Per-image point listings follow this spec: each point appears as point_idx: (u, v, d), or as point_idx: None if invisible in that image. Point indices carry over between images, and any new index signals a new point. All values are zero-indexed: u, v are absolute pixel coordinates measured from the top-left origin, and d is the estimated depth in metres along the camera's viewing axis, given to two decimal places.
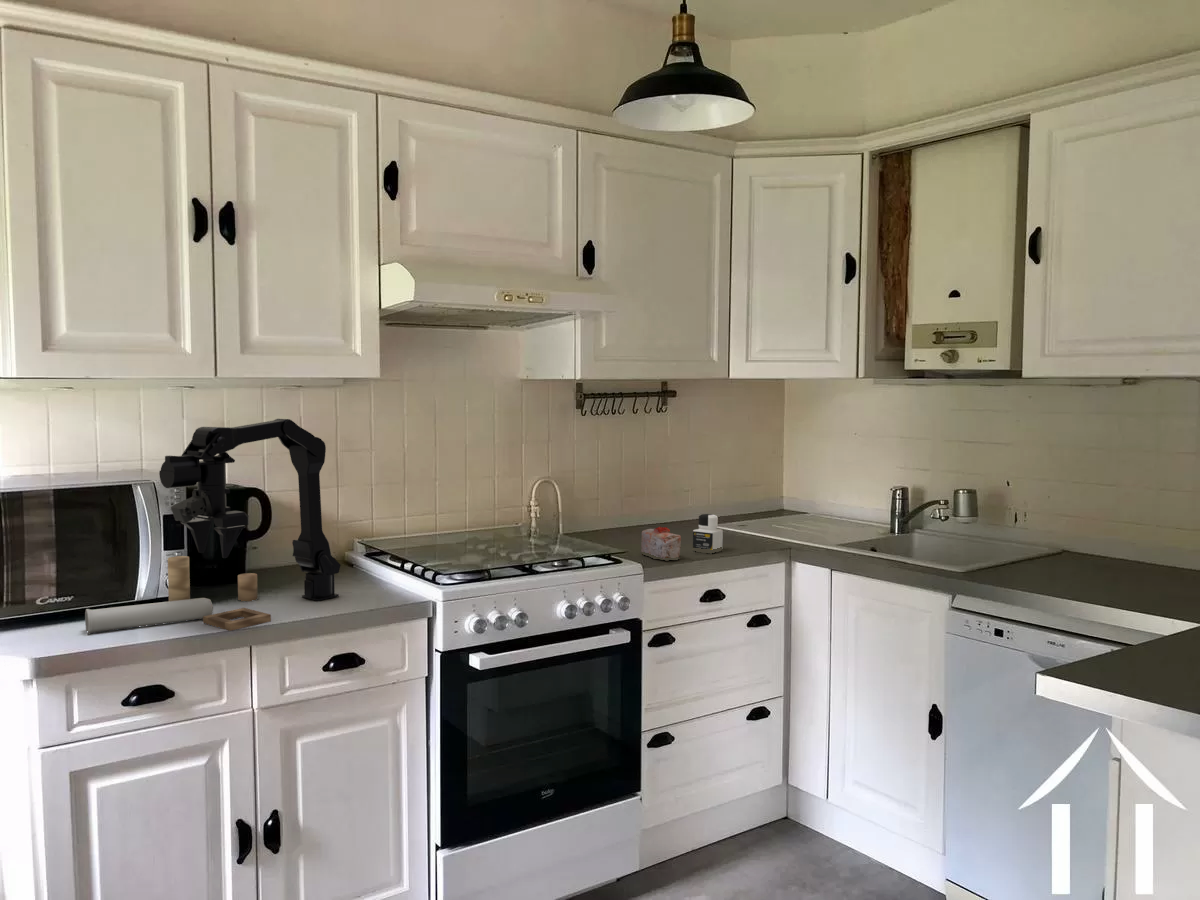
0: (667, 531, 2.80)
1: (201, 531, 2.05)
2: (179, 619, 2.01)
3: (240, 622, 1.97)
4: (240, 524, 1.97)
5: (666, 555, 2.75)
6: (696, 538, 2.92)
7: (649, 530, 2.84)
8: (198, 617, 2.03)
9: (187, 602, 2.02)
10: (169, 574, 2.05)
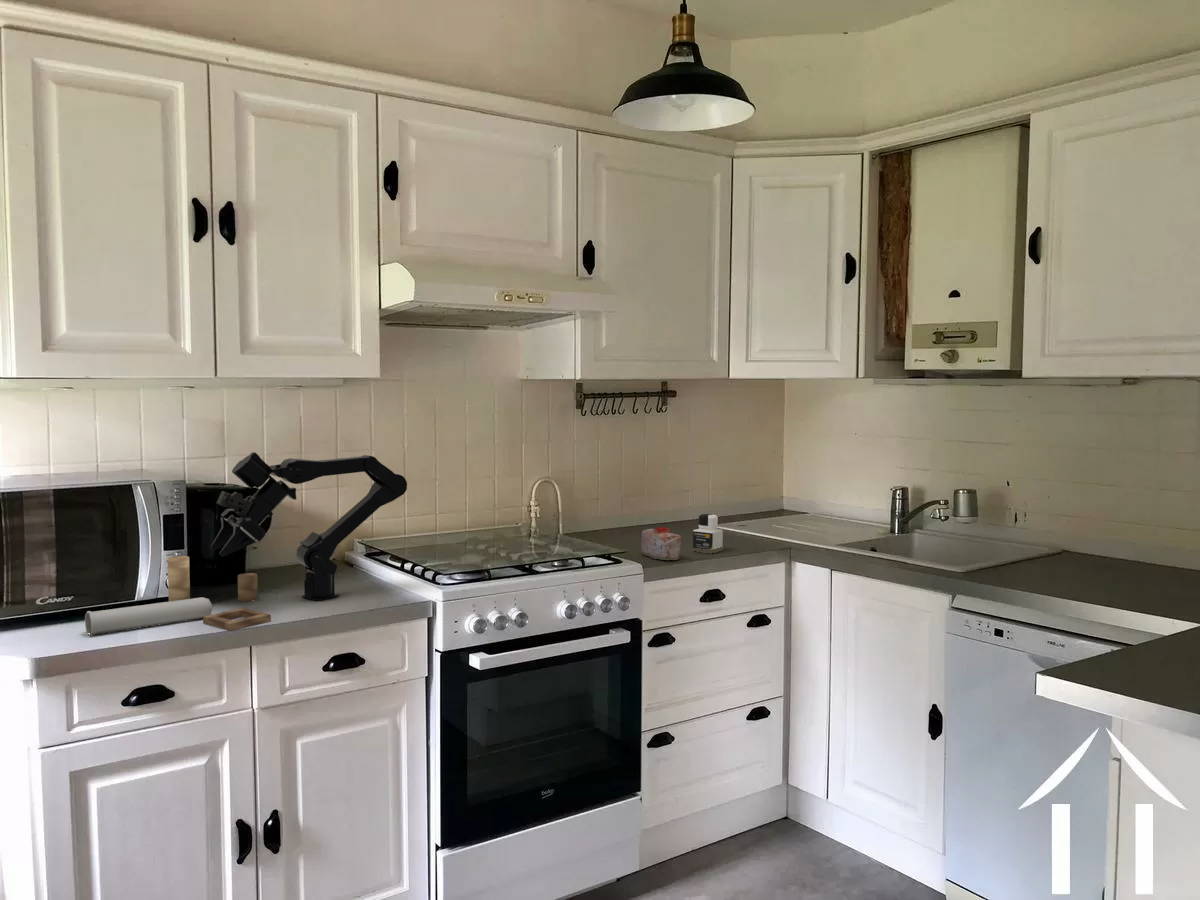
0: (667, 531, 2.80)
1: (227, 534, 2.17)
2: (180, 619, 2.01)
3: (240, 622, 1.97)
4: (252, 534, 2.07)
5: (666, 555, 2.75)
6: (696, 539, 2.92)
7: (649, 530, 2.84)
8: (198, 617, 2.03)
9: (187, 602, 2.02)
10: (169, 574, 2.05)
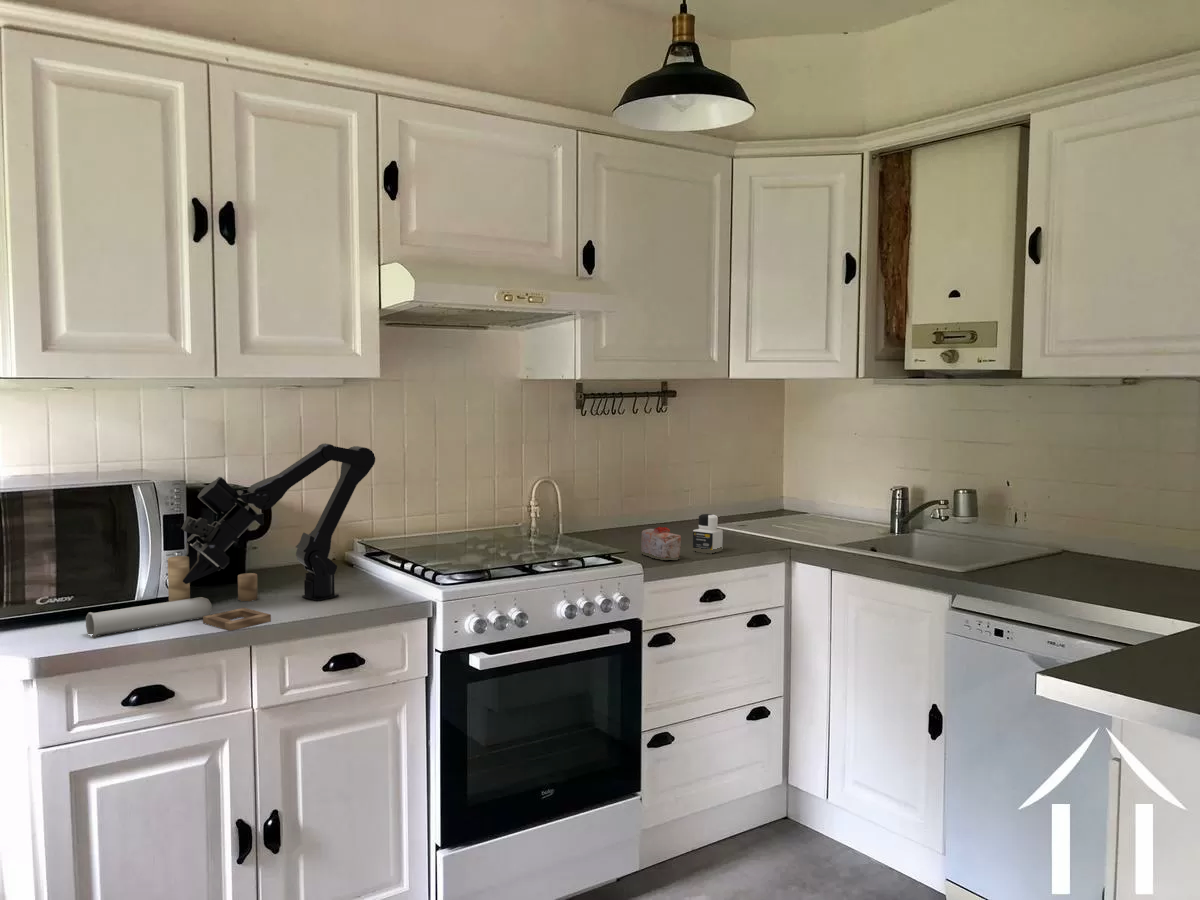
0: (667, 531, 2.81)
1: (192, 560, 2.13)
2: (180, 619, 2.01)
3: (240, 622, 1.97)
4: (216, 562, 2.03)
5: (666, 555, 2.75)
6: (696, 539, 2.92)
7: (649, 530, 2.84)
8: (198, 616, 2.04)
9: (187, 602, 2.02)
10: (169, 574, 2.05)
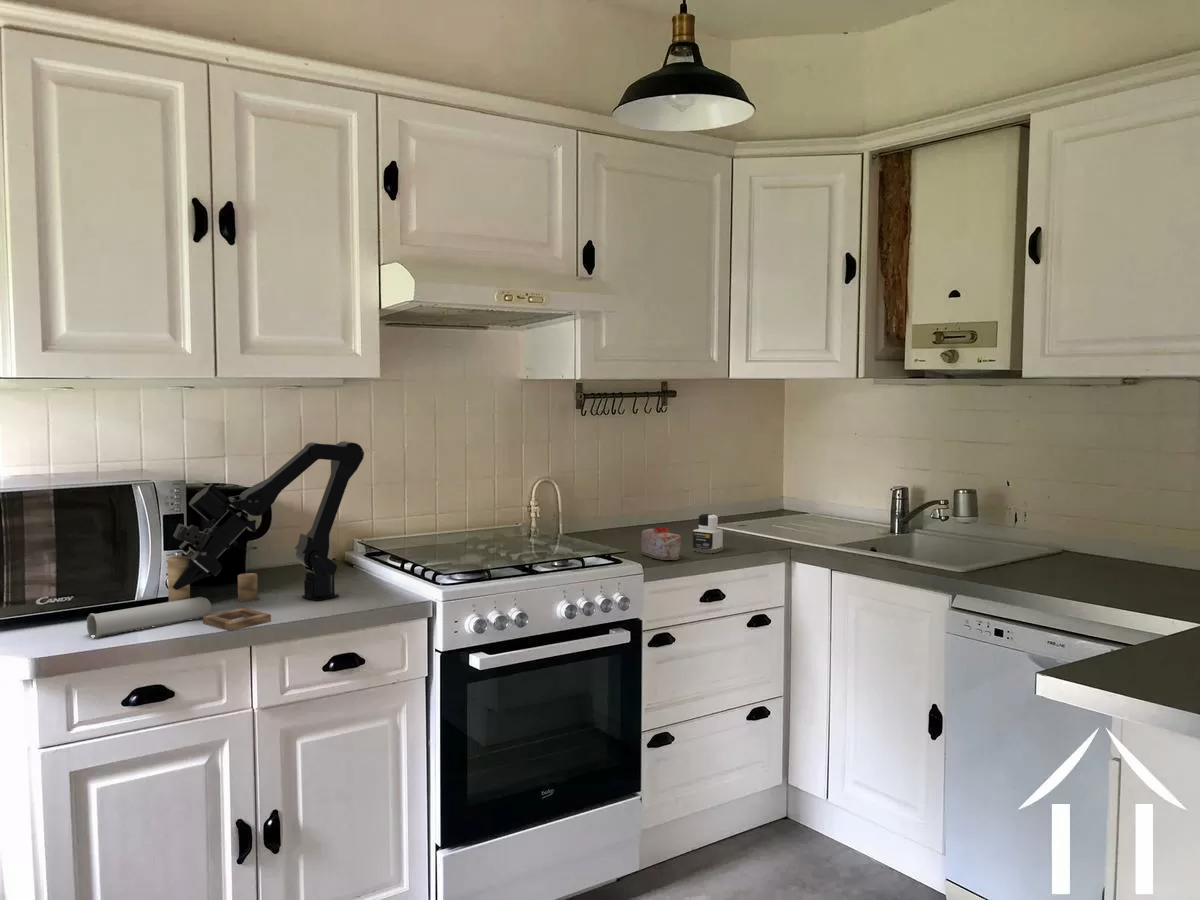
0: (667, 531, 2.81)
1: None
2: (181, 619, 2.01)
3: (240, 622, 1.97)
4: (208, 569, 2.02)
5: (666, 555, 2.75)
6: (696, 539, 2.92)
7: (649, 530, 2.84)
8: (198, 616, 2.04)
9: (187, 602, 2.03)
10: (169, 574, 2.05)
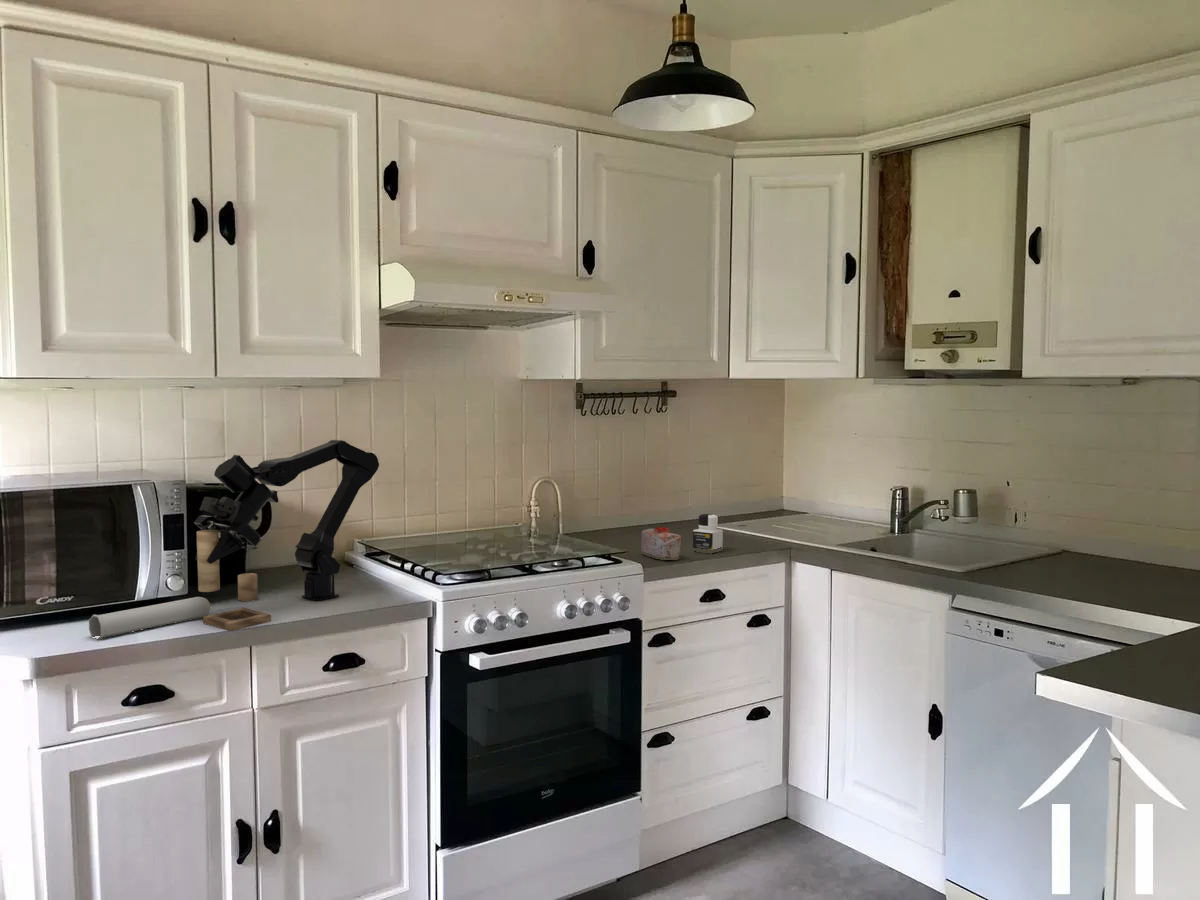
0: (667, 531, 2.81)
1: None
2: (182, 619, 2.01)
3: (240, 622, 1.97)
4: (250, 540, 2.00)
5: (666, 555, 2.75)
6: (696, 539, 2.92)
7: (649, 530, 2.84)
8: (198, 616, 2.04)
9: (187, 601, 2.03)
10: (200, 548, 2.00)
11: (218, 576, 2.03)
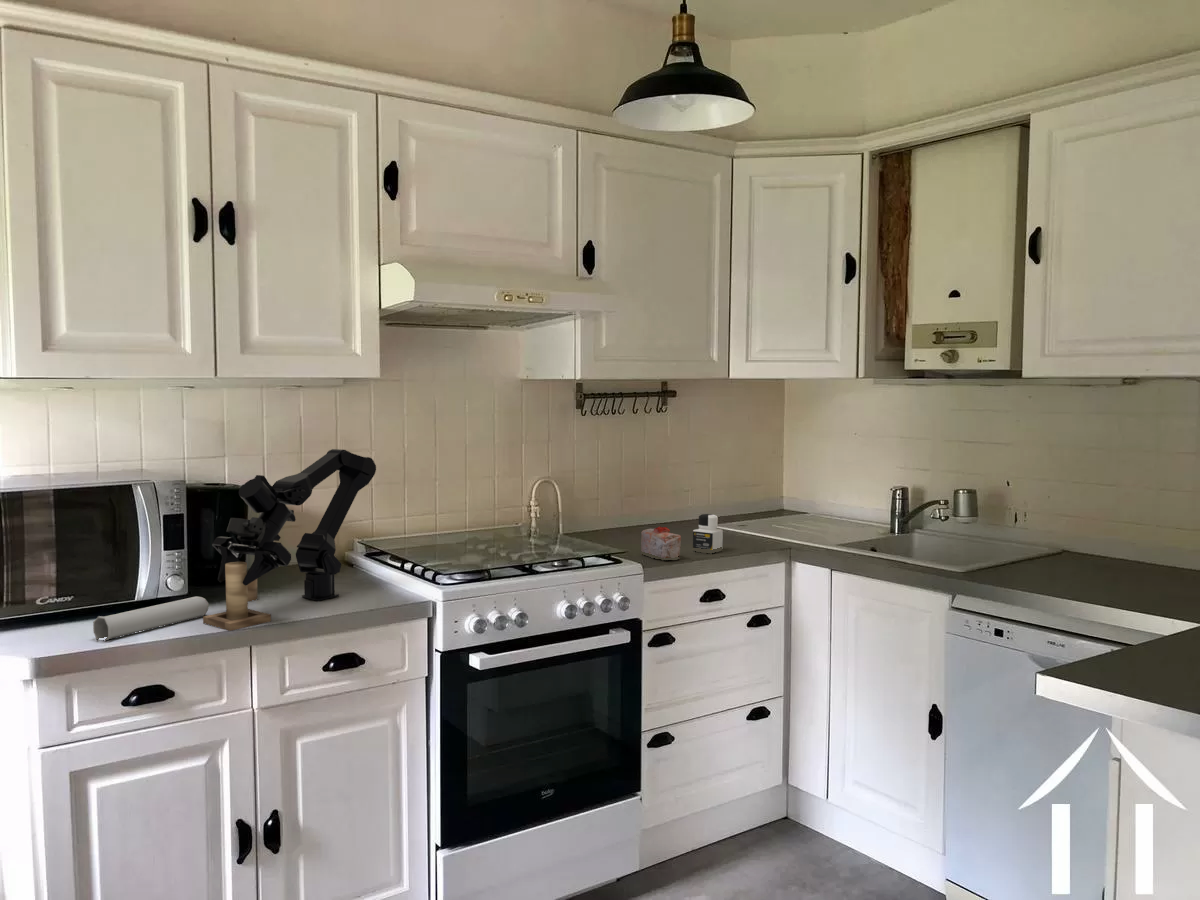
0: (667, 531, 2.81)
1: None
2: (183, 619, 2.01)
3: (240, 622, 1.97)
4: (283, 559, 2.01)
5: (666, 555, 2.75)
6: (696, 539, 2.92)
7: (649, 530, 2.84)
8: (198, 615, 2.05)
9: (187, 601, 2.03)
10: (231, 581, 1.99)
11: (247, 608, 2.02)
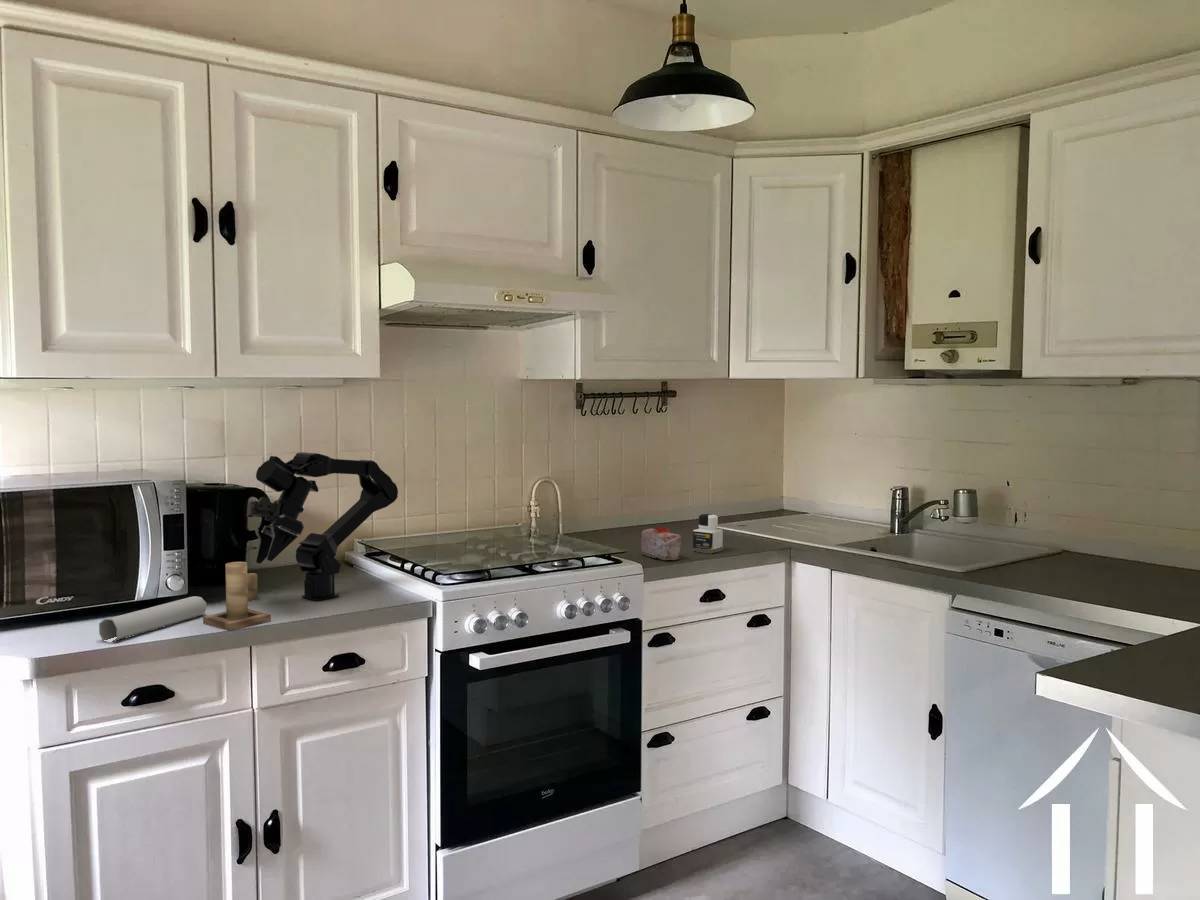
0: (667, 531, 2.81)
1: (267, 545, 2.17)
2: (183, 618, 2.01)
3: (240, 622, 1.97)
4: (292, 529, 2.07)
5: (666, 555, 2.75)
6: (696, 538, 2.92)
7: (649, 530, 2.84)
8: (197, 615, 2.05)
9: (187, 601, 2.03)
10: (231, 581, 1.99)
11: (247, 608, 2.02)
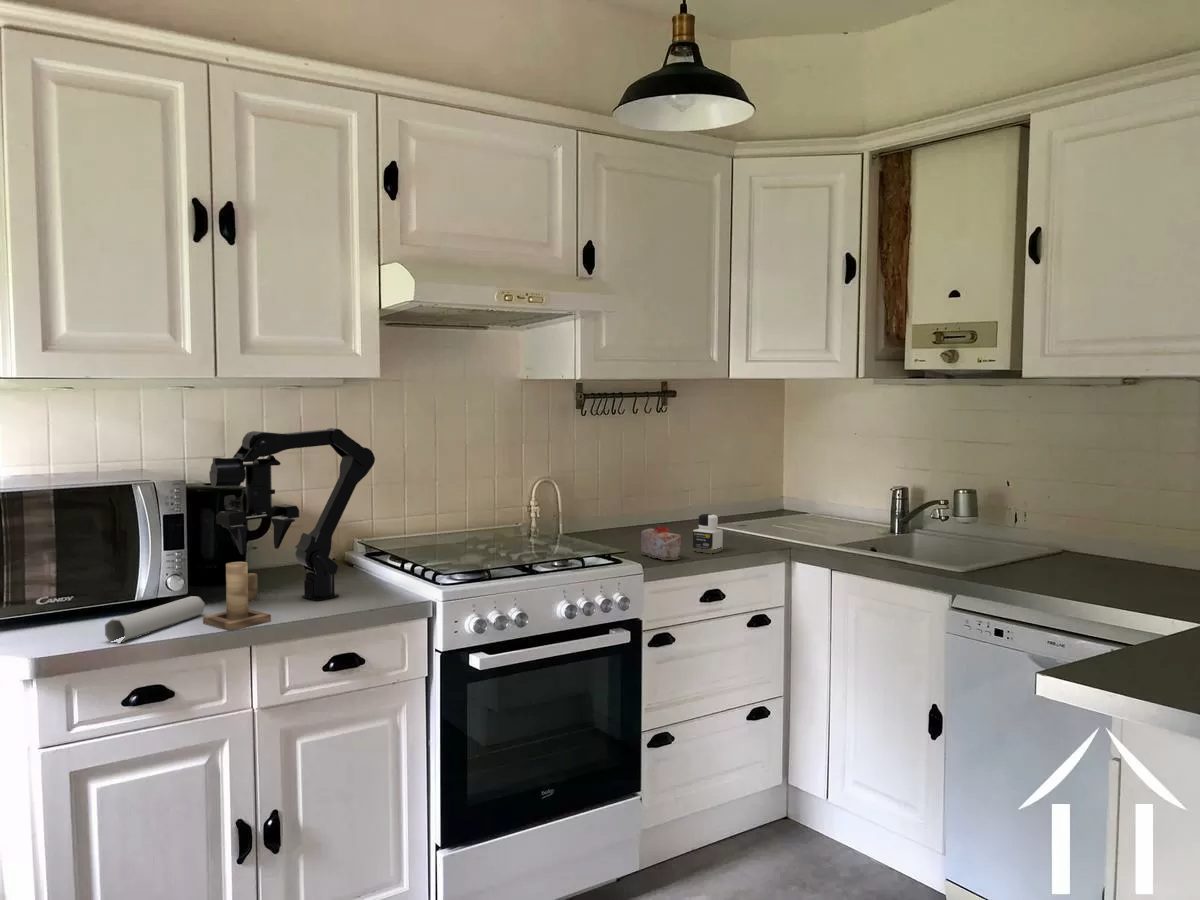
0: (667, 531, 2.81)
1: (277, 529, 2.19)
2: (184, 618, 2.01)
3: (240, 622, 1.97)
4: (224, 524, 2.07)
5: (666, 555, 2.75)
6: (696, 538, 2.92)
7: (649, 530, 2.84)
8: (196, 614, 2.05)
9: (187, 601, 2.03)
10: (232, 581, 1.99)
11: (247, 608, 2.02)
